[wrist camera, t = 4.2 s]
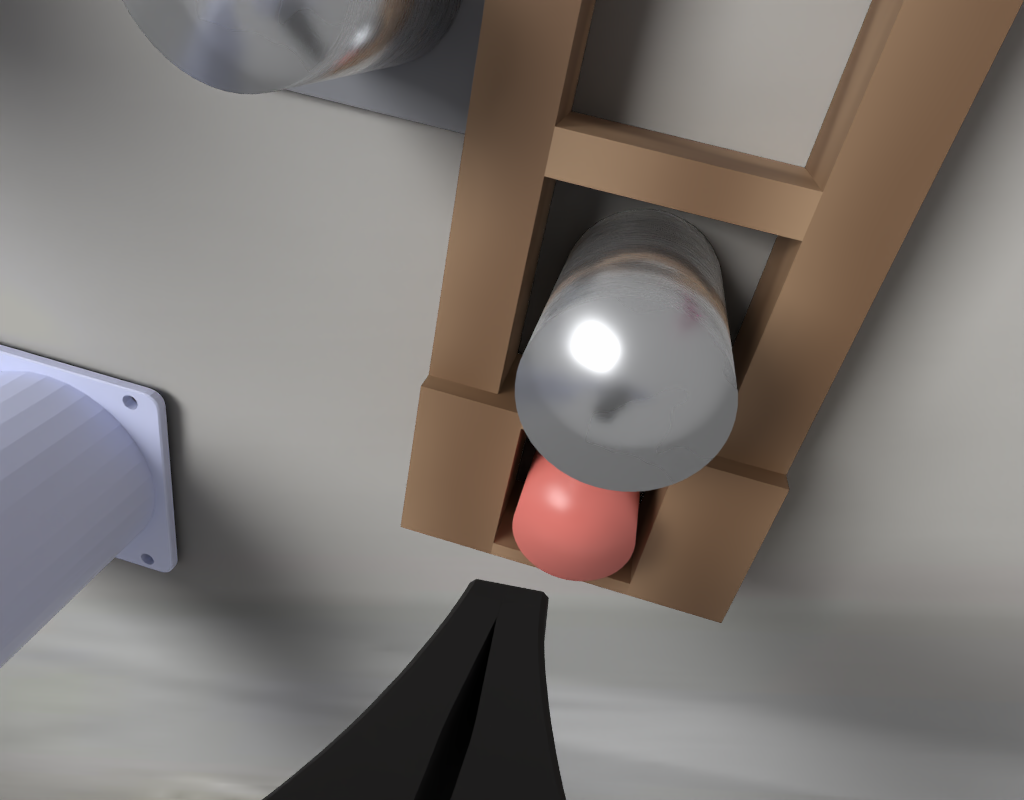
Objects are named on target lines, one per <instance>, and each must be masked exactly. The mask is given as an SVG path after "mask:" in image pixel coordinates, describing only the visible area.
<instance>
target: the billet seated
mask: <svg viewBox="0 0 1024 800" xmlns="http://www.w3.org/2000/svg"><path fill="white" fill-rule="evenodd" d="M515 401H516V408H517V412H518V416H519V419H520V422H521V424H522V426H523V429H524V431H525V433H526V435H527V436H528V438H529V439H530V441H531V443H532V444H533V445H534V447H535V448H536V449H537V450H538V452H539V453H540V454H541V455H542V456H543V457H544V458H545V459H546V460H547V461H548V462H550V463H551V464H552V465H553V466H555V467H556V468H557V469H559V470H560V471H562V472H563V473H565V474H567V475H568V476H570V477H572V478H574V479H576V480H578V481H580V482H583V483H585V484H588V485H591V486H594V487H598V488H602V489H607V490H613V491H621V492H638V491H649V490H654V489H659V488H663V487H666V486H669V485H673V484H675V483H678V482H680V481H682V480H684V479H686V478H688V477H690V476H691V475H693V474H695V473H696V472H698V471H699V470H701V469H702V468H703V467H704V466H706V465H707V464H708V463H709V462H710V461H711V460H712V459H713V458H714V457H715V456H716V455H717V454H718V452H719V451H720V450H721V448H722V447H723V446H724V444H725V443H726V441H727V439H728V437H729V435H730V433H731V431H732V428H733V425H734V422H735V419H736V413H737V408H738V390H737V383H736V375H735V368H734V361H733V354H732V347H731V339H730V332H729V325H728V318H727V311H726V303H725V296H724V289H723V282H722V275H721V268H720V265H719V261H718V258H717V256H716V254H715V251H714V249H713V248H712V246H711V245H710V243H709V242H708V240H707V239H706V238H705V237H704V236H703V234H702V233H701V232H700V231H699V230H697V229H696V228H695V227H694V226H693V225H691V224H690V223H688V222H687V221H685V220H684V219H681V218H679V217H677V216H675V215H673V214H670V213H666V212H663V211H657V210H649V209H637V210H629V211H624V212H620V213H617V214H614V215H611V216H609V217H607V218H605V219H603V220H601V221H599V222H598V223H596V224H595V225H593V226H592V227H591V228H590V229H588V230H587V231H586V232H585V233H584V234H583V235H582V236H581V237H580V239H579V240H578V241H577V242H576V244H575V245H574V247H573V248H572V250H571V252H570V254H569V256H568V258H567V261H566V263H565V265H564V267H563V269H562V271H561V273H560V276H559V278H558V280H557V282H556V284H555V286H554V289H553V291H552V293H551V295H550V297H549V299H548V302H547V304H546V306H545V308H544V310H543V312H542V315H541V317H540V319H539V321H538V323H537V325H536V328H535V330H534V332H533V334H532V336H531V338H530V341H529V343H528V345H527V347H526V349H525V351H524V354H523V356H522V358H521V360H520V363H519V366H518V370H517V374H516V380H515Z"/></svg>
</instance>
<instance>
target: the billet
mask: <svg viewBox="0 0 1024 800" xmlns="http://www.w3.org/2000/svg"><path fill="white" fill-rule="evenodd" d="M461 1H462V0H123V2H124V4H125V6H126V8H127V9H128V11H129V13H130V15H131V16H132V18H133V19H134V21H135V22H136V24H137V25H138V26H139V28H140V29H141V31H142V32H143V33H144V34H145V36H146V37H147V38H148V39H149V40H150V42H151V43H152V44H153V45H154V46H155V47H156V48H157V49H158V50H159V51H160V52H161V53H162V54H163V55H164V56H165V57H166V58H167V59H168V60H169V61H171V62H172V63H173V64H174V65H176V66H177V67H178V68H179V69H180V70H182V71H184V72H185V73H187V74H188V75H190V76H191V77H193V78H195V79H196V80H199V81H201V82H203V83H205V84H207V85H209V86H211V87H214V88H218V89H221V90H224V91H228V92H234V93H239V94H260V93H268V92H273V91H278V90H283V89H288V88H292V87H297V86H302V85H307V84H312V83H316V82H321V81H326V80H331V79H335V78H340V77H345V76H350V75H354V74H359V73H364V72H369V71H374V70H378V69H383V68H388V67H393V66H397V65H402V64H405V63H408V62H412V61H414V60H416V59H418V58H420V57H422V56H423V55H425V54H426V53H428V52H429V51H431V50H432V49H433V48H434V47H435V46H436V45H437V44H438V43H439V42H440V41H441V40H442V38H443V37H444V36H445V35H446V34H447V32H448V30H449V29H450V27H451V25H452V24H453V22H454V20H455V17H456V15H457V13H458V11H459V8H460V4H461Z"/></svg>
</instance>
